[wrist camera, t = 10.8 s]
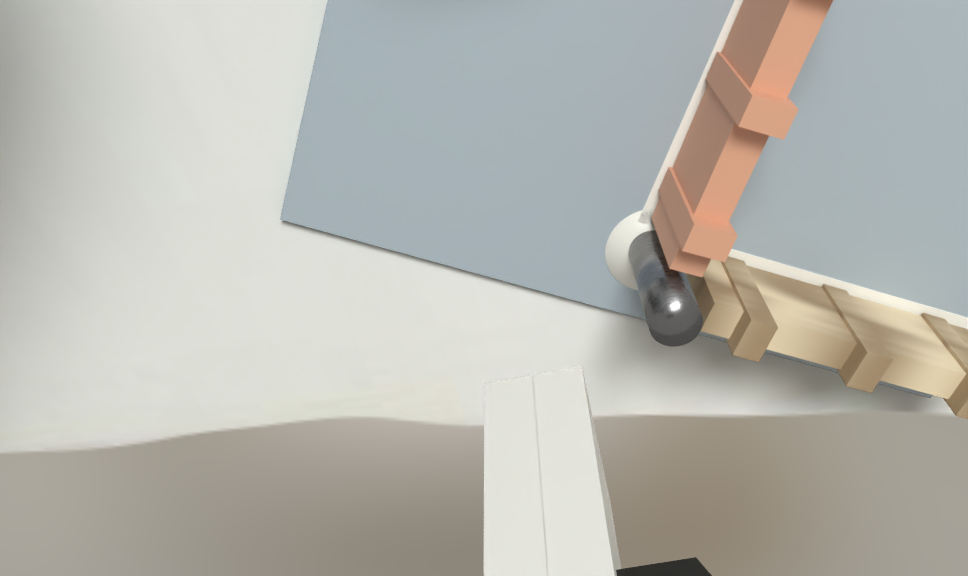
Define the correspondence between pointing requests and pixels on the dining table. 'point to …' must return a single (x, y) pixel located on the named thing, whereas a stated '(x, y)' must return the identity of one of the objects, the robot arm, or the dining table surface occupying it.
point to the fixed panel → (833, 331)
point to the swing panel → (734, 128)
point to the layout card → (636, 143)
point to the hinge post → (664, 293)
